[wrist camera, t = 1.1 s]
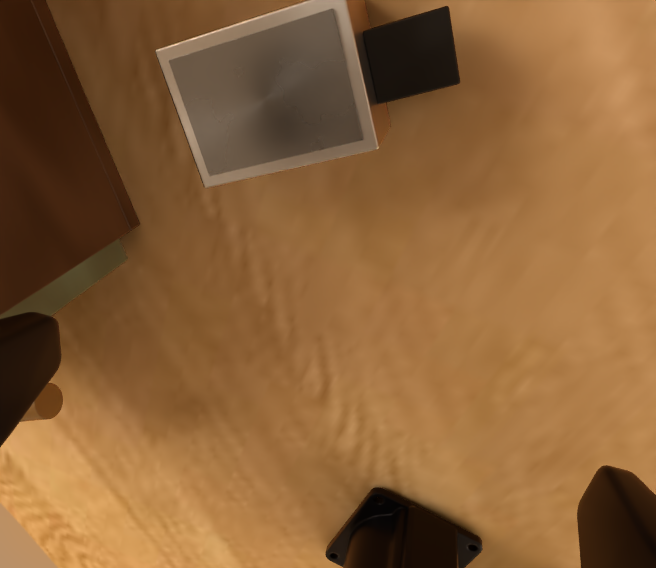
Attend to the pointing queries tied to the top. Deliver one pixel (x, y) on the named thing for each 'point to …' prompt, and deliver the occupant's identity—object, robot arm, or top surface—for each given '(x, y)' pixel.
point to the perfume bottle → (300, 85)
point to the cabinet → (49, 160)
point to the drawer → (57, 298)
